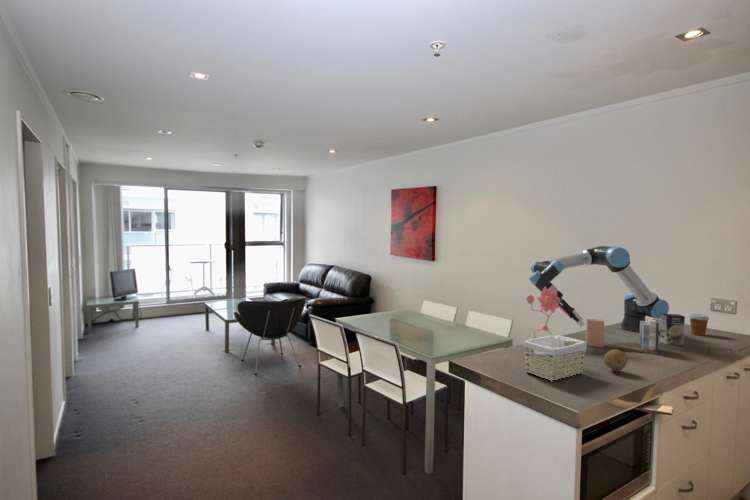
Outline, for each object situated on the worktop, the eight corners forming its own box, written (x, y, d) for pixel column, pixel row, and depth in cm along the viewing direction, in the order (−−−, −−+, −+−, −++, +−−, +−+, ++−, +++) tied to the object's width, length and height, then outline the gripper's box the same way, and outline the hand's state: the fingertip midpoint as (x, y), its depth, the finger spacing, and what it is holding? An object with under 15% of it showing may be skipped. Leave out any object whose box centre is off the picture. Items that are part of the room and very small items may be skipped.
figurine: (560, 366, 189) (562, 291, 188) (518, 352, 212) (519, 285, 211) (582, 362, 196) (584, 289, 194) (539, 348, 219) (540, 283, 218)
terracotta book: (586, 343, 229) (586, 318, 229) (602, 344, 226) (603, 319, 225) (587, 345, 225) (587, 320, 224) (603, 347, 222) (604, 321, 221)
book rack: (614, 344, 227) (614, 314, 226) (652, 347, 220) (653, 317, 219) (617, 350, 216) (618, 319, 215) (657, 354, 209) (658, 322, 208)
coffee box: (666, 344, 226) (667, 316, 225) (659, 341, 233) (660, 313, 232) (684, 345, 225) (685, 316, 225) (676, 342, 232) (677, 313, 231)
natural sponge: (621, 376, 176) (621, 354, 176) (599, 371, 183) (600, 349, 183) (630, 372, 182) (630, 350, 181) (609, 367, 189) (609, 345, 188)
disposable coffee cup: (685, 333, 250) (685, 314, 249) (694, 332, 254) (694, 313, 253) (702, 337, 241) (703, 317, 241) (711, 335, 245) (712, 315, 245)
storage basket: (555, 364, 193) (555, 333, 193) (588, 374, 179) (588, 341, 179) (521, 373, 181) (521, 340, 181) (553, 384, 167) (554, 349, 167)
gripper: (548, 295, 245) (575, 322, 239) (547, 302, 222) (577, 332, 217) (558, 287, 242) (585, 314, 237) (558, 293, 219) (589, 323, 214)
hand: (582, 322), depth 227 cm, fingers open, 13 cm apart
